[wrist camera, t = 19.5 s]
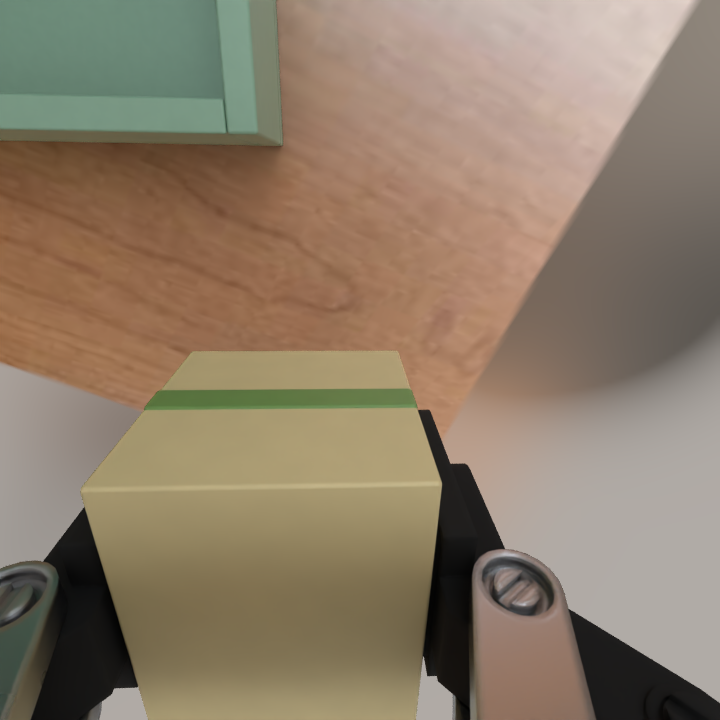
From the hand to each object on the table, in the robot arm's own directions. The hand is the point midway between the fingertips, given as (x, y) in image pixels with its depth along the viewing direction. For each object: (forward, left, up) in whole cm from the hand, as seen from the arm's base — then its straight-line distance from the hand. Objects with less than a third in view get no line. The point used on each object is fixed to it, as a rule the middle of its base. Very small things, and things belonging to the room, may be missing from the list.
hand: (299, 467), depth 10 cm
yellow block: (0, 0, -1) cm, 1 cm away
